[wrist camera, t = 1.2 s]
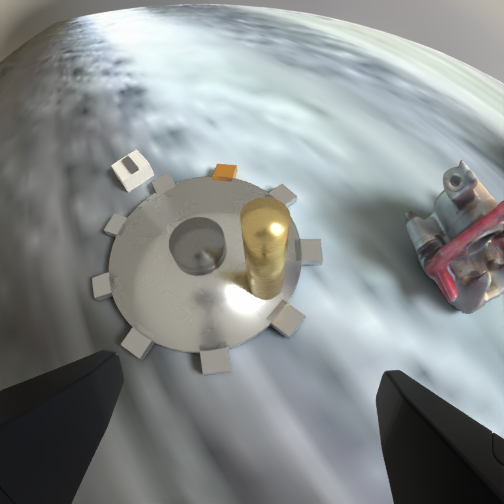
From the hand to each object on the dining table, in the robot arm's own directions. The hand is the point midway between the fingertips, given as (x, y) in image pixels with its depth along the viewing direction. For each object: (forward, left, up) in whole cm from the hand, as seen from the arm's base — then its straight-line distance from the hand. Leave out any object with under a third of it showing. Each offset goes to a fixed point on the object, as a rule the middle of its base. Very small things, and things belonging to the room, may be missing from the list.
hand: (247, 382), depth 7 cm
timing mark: (+15, +18, -13) cm, 27 cm away
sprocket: (+9, +8, -13) cm, 18 cm away
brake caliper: (+15, -13, -14) cm, 24 cm away
